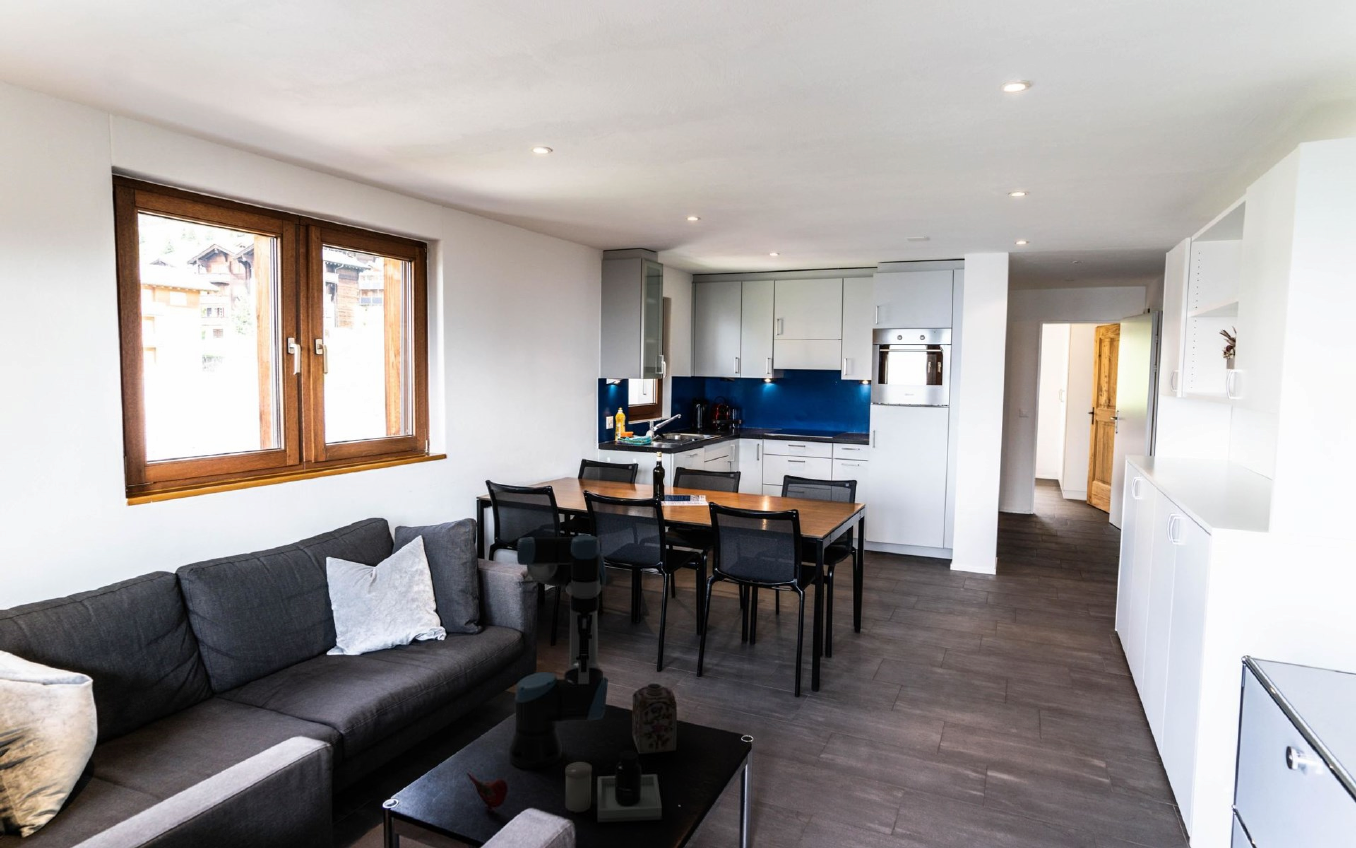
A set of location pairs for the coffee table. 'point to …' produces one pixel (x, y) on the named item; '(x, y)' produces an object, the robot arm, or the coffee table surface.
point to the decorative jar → (654, 719)
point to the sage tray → (642, 810)
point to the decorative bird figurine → (491, 792)
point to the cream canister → (578, 786)
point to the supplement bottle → (628, 779)
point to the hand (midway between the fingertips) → (584, 673)
